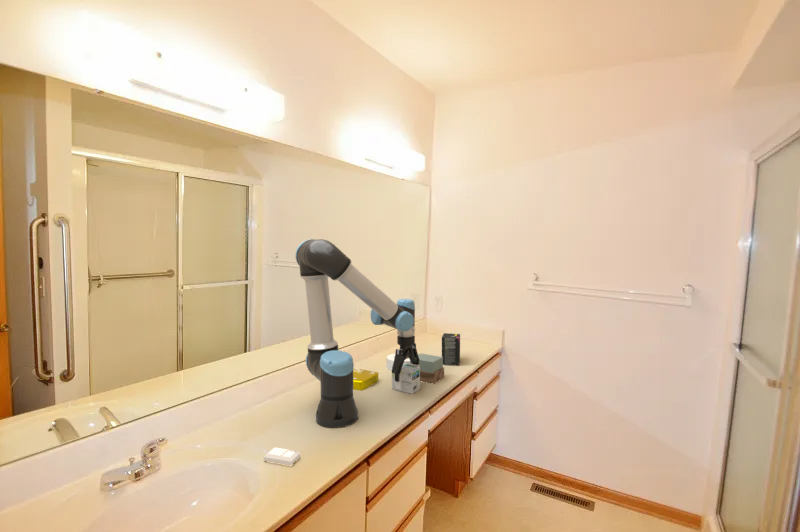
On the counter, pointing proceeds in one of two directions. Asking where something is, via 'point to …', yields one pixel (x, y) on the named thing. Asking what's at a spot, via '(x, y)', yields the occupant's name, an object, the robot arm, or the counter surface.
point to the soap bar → (282, 456)
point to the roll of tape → (391, 359)
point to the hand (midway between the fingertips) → (406, 383)
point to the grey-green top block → (430, 363)
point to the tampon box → (451, 349)
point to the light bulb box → (408, 378)
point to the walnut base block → (432, 376)
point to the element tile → (363, 379)
